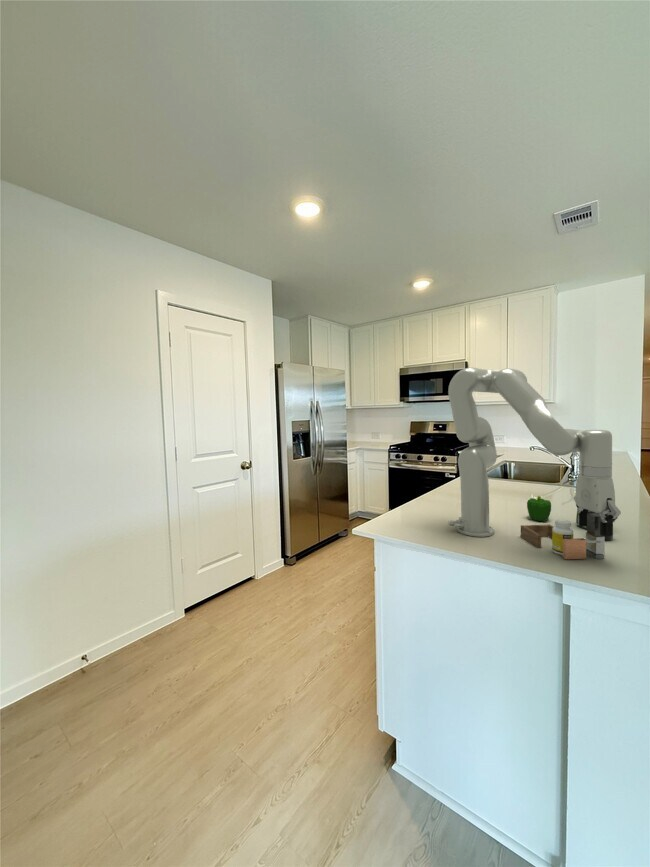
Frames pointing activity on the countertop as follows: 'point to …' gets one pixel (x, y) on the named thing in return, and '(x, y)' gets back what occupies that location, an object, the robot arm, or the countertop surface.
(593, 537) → the carriage
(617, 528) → the countertop surface
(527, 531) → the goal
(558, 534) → the supplement bottle
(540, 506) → the bell pepper
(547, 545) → the countertop surface
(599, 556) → the rail
